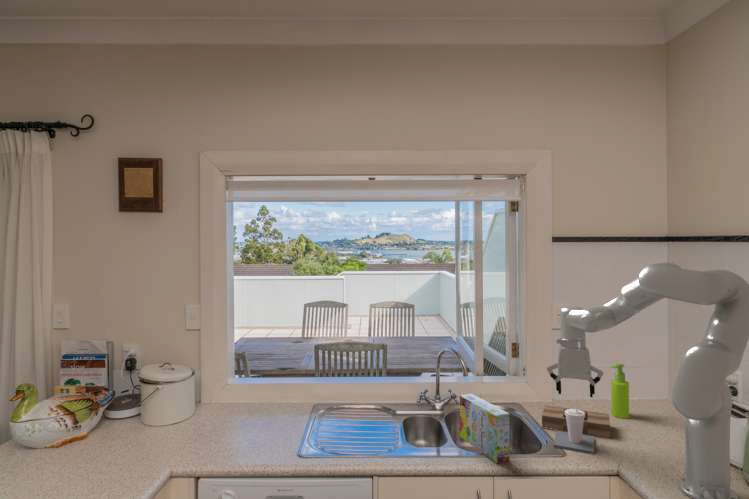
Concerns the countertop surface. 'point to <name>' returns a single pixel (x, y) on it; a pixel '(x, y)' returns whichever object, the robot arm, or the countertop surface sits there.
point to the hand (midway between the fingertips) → (575, 394)
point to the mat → (564, 443)
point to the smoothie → (575, 424)
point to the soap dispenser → (620, 393)
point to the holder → (592, 424)
